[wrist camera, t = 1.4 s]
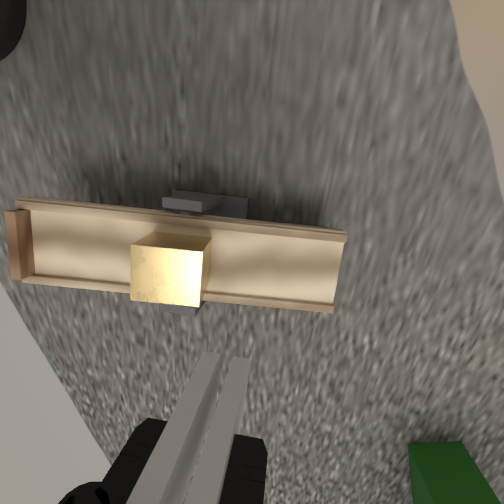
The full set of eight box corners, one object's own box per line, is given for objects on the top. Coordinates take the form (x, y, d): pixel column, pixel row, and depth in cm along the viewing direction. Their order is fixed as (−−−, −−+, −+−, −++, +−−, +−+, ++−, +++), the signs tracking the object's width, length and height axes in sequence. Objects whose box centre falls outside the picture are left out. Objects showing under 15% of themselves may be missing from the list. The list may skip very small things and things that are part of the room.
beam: (55, 191, 35) (2, 195, 28) (332, 221, 36) (353, 232, 29) (59, 269, 38) (12, 292, 30) (319, 295, 38) (335, 323, 31)
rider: (153, 231, 31) (130, 244, 25) (212, 237, 31) (202, 252, 25) (152, 277, 32) (130, 300, 26) (208, 283, 32) (199, 307, 26)
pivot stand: (176, 189, 41) (133, 193, 30) (248, 198, 40) (232, 205, 29) (172, 274, 44) (132, 306, 33) (240, 284, 43) (222, 321, 32)
